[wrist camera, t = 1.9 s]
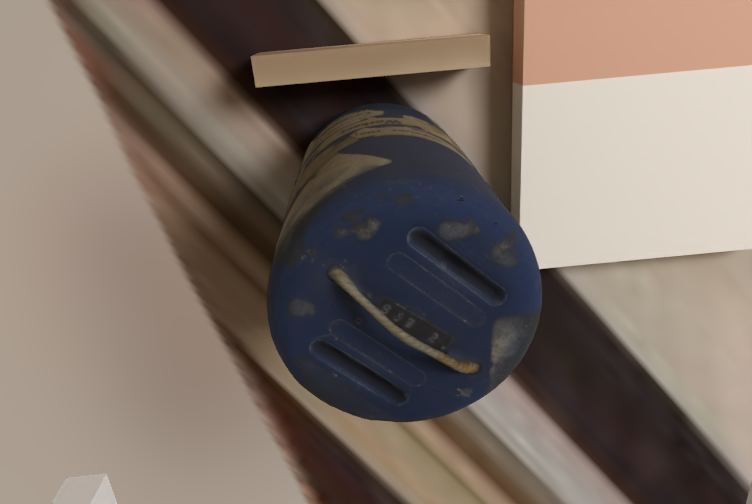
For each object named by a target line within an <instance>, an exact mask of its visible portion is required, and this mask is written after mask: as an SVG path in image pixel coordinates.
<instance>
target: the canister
mask: <svg viewBox="0 0 752 504" xmlns="http://www.w3.org/2000/svg"><path fill="white" fill-rule="evenodd" d="M541 306H542V286H541V276H540V270H539V266H538V262H537V259H536V256H535V253H534V251H533V248H532V246H531V244H530V242H529V240H528V237H527V236H526V234H525V232H524V231H523V229H522V227H521V226H520V224H519V223H518V222H517V220H516V219H515V218H514V217H513V215H512V214H511V213H510V212H509V210H508V209H507V208H506V207H505V205H504V204H503V203H502V202H501V200H500V199H499V198H498V197H497V195H496V194H495V193H494V191H493V190H492V189H491V188H490V186H489V185H488V184H487V183H486V182H485V181H484V179H483V178H482V177H481V176H480V174H479V173H478V171H477V170H476V168H475V167H474V165H473V164H472V163H471V161H470V160H469V159H468V158H467V156H466V155H465V153H464V152H463V151H462V150H461V149H460V148H459V146H458V145H457V144H456V143H455V142H454V141H453V140H452V139H451V138H450V137H449V136H448V134H447V133H446V132H445V131H444V130H443V129H442V128H441V127H440V126H439V125H438V124H437V123H435V122H434V121H433V120H432V119H430V118H429V117H428V116H426V115H424V114H422V113H420V112H418V111H416V110H414V109H412V108H409V107H406V106H402V105H398V104H391V103H372V104H366V105H362V106H358V107H355V108H352V109H350V110H347V111H345V112H343V113H341V114H340V115H338V116H336V117H335V118H333V119H332V120H331V121H329V122H328V123H327V124H326V125H325V126H324V127H323V128H322V129H321V130H320V131H319V132H318V133H317V134H316V136H315V137H314V138H313V140H312V141H311V143H310V145H309V146H308V148H307V151H306V153H305V155H304V158H303V161H302V164H301V167H300V171H299V174H298V177H297V180H296V182H295V187H294V189H293V191H292V194H291V196H290V199H289V203H288V207H287V211H286V215H285V218H284V221H283V225H282V229H281V233H280V236H279V239H278V242H277V245H276V250H275V255H274V259H273V263H272V267H271V271H270V275H269V281H268V289H267V311H268V321H269V326H270V331H271V335H272V339H273V341H274V344H275V346H276V349H277V351H278V353H279V355H280V357H281V358H282V360H283V362H284V364H285V365H286V367H287V368H288V370H289V371H290V373H291V374H292V375H293V377H294V378H295V379H296V380H297V381H298V383H299V384H301V385H302V386H303V387H304V388H305V389H307V390H308V391H309V392H311V393H312V394H313V395H315V396H316V397H317V398H319V399H320V400H322V401H324V402H325V403H327V404H328V405H330V406H333V407H335V408H337V409H339V410H342V411H344V412H347V413H349V414H352V415H354V416H358V417H361V418H364V419H369V420H380V421H393V422H413V421H421V420H428V419H432V418H437V417H441V416H444V415H447V414H450V413H452V412H455V411H457V410H460V409H462V408H464V407H466V406H468V405H470V404H472V403H474V402H476V401H477V400H479V399H481V398H482V397H484V396H485V395H487V394H488V393H489V392H491V391H492V390H493V389H495V388H496V387H497V386H498V385H499V384H500V383H502V382H503V381H504V380H505V379H506V378H507V377H508V375H509V374H510V373H511V372H512V371H513V370H514V369H515V368H516V366H517V365H518V364H519V363H520V361H521V360H522V358H523V356H524V355H525V353H526V352H527V350H528V347H529V345H530V343H531V341H532V339H533V337H534V334H535V331H536V328H537V325H538V322H539V317H540V312H541Z"/></svg>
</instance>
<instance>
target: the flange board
mask: <svg viewBox="0 0 752 504" xmlns="http://www.w3.org/2000/svg"><path fill="white" fill-rule="evenodd" d="M511 214H512V215H513V217H514V218H515V219H516V220H517V222H518V223H519V224H520V226H521V227H522V229H523V231H524V232H525V234H526V236H527V237H528V240H529V242H530V244H531V246H532V248H533V251H534V253H535V256H536V259H537V262H538V266H539V269H545V268H555V267H566V266H576V265H587V264H597V263H608V262H618V261H629V260H639V259H650V258H661V257H671V256H682V255H692V254H703V253H713V252H724V251H734V250H745V249H752V0H514V23H513V92H512V161H511Z"/></svg>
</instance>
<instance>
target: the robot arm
mask: <svg viewBox="0 0 752 504" xmlns="http://www.w3.org/2000/svg"><path fill="white" fill-rule="evenodd" d="M52 504H117V501H116V499H115V496H114V493H113V490H112V488H111V485H110V482H109V479H108V477H107V474H106V473H105V474H95V475H85V476H75V477H67V478H66V480H65V481H64V483H63V485H62V487H61V488H60V490H59V491H58V493H57V495H56V496H55V498H54V500H53V501H52ZM746 504H752V482H751V486H750V490H749V494H748V498H747V502H746Z"/></svg>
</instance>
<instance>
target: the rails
mask: <svg viewBox="0 0 752 504" xmlns="http://www.w3.org/2000/svg"><path fill="white" fill-rule="evenodd" d="M251 61H252V68H253V74H254V80H255V86H256V87H267V86H278V85H289V84H300V83H311V82H322V81H333V80H344V79H355V78H367V77H378V76H389V75H400V74H411V73H422V72H433V71H444V70H455V69H466V68H477V67H488V66H490V35H487V34H479V33H474V34H463V35H452V36H441V37H430V38H418V39H407V40H396V41H385V42H374V43H363V44H351V45H340V46H329V47H318V48H307V49H296V50H284V51H273V52H262V53H258V54H255V55H253V56H251Z"/></svg>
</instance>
